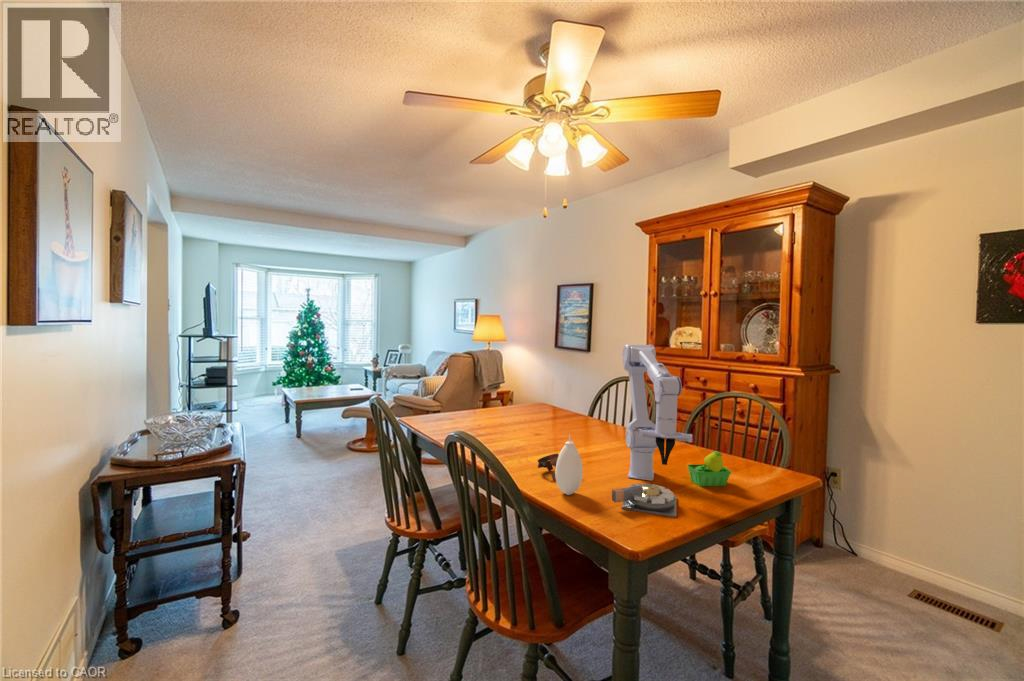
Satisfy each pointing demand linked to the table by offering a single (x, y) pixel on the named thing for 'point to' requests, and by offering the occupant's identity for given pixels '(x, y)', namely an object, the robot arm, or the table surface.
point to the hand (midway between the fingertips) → (664, 463)
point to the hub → (658, 509)
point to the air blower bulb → (568, 469)
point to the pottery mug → (548, 463)
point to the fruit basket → (710, 471)
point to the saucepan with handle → (641, 495)
